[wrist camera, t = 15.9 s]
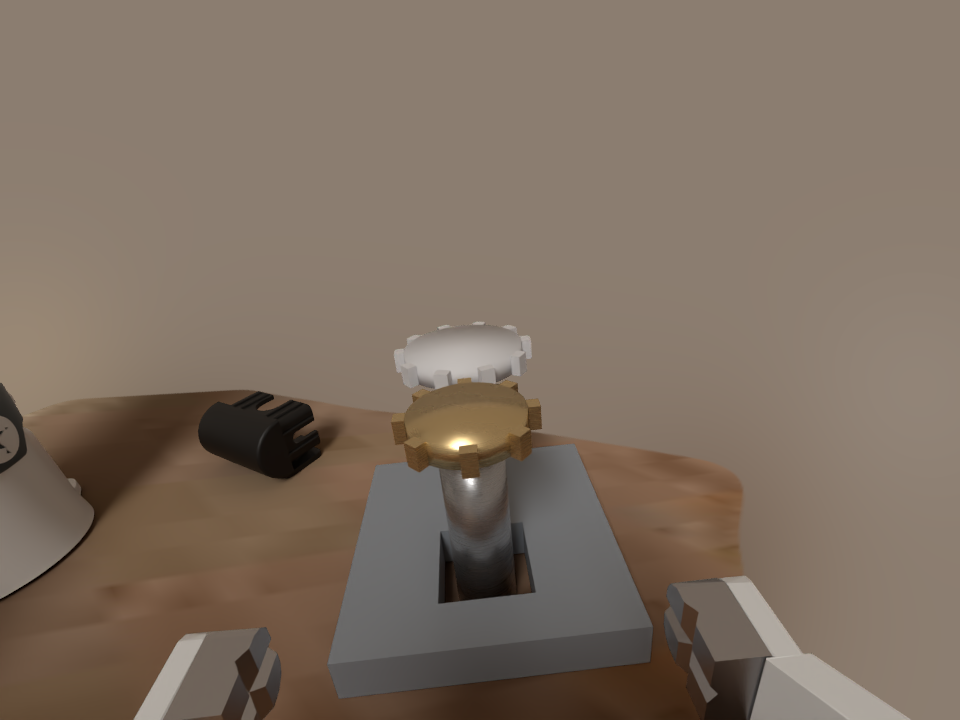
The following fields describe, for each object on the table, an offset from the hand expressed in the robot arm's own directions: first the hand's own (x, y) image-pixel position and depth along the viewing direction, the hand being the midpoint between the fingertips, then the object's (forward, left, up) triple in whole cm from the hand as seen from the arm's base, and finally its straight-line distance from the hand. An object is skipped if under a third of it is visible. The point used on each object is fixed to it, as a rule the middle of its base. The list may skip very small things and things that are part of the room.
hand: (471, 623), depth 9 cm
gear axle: (0, +17, -19) cm, 25 cm away
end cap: (-22, +36, -19) cm, 46 cm away
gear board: (0, +21, -19) cm, 28 cm away
